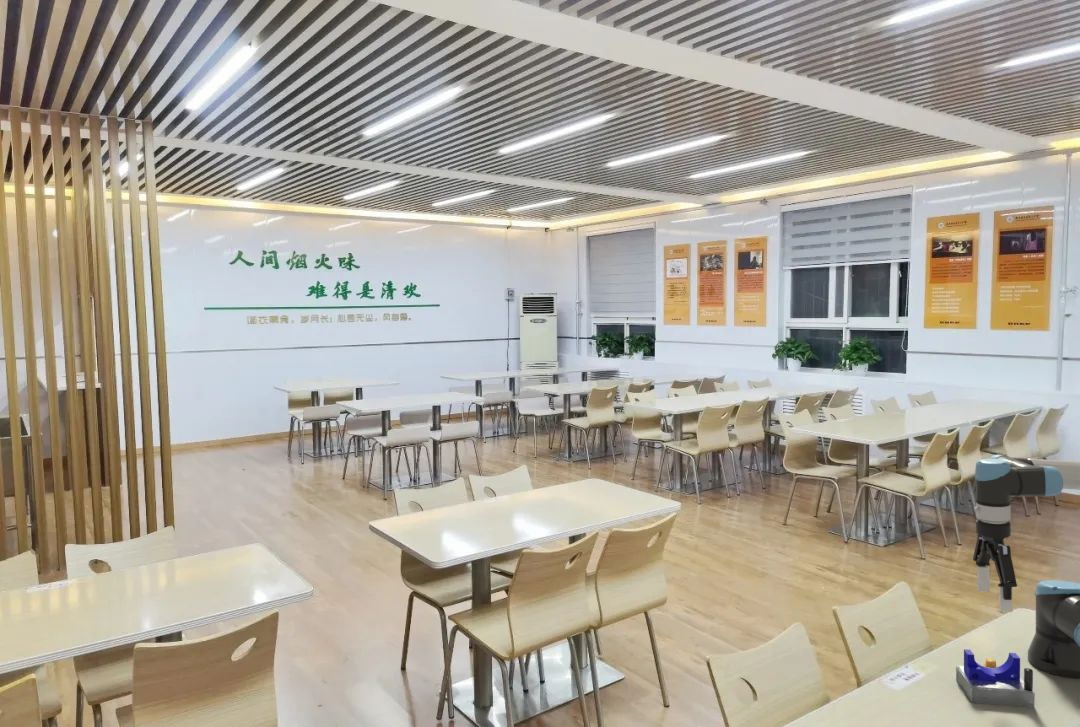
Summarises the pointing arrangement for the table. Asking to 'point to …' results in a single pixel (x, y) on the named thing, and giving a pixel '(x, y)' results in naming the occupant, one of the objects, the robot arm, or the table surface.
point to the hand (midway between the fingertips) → (994, 600)
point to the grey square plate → (999, 690)
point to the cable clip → (992, 669)
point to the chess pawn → (990, 663)
